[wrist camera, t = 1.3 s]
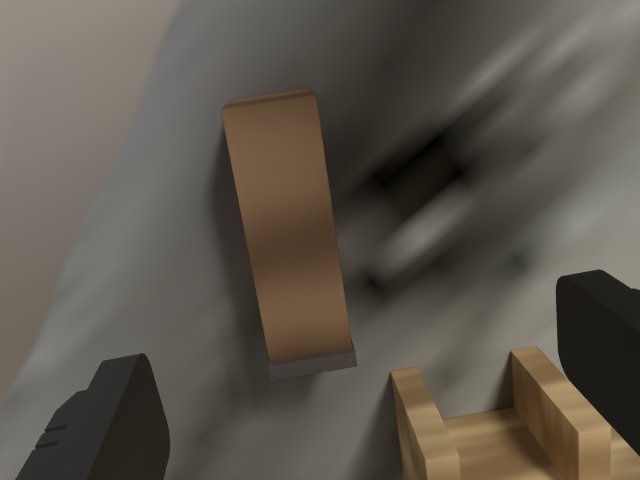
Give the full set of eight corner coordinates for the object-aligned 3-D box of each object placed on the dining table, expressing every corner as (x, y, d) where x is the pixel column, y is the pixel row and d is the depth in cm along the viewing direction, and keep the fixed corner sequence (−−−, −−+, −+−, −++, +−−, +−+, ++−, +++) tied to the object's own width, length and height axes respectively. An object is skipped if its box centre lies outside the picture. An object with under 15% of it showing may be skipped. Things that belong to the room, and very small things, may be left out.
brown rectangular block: (227, 100, 29) (217, 111, 24) (309, 87, 29) (319, 95, 24) (270, 327, 33) (270, 381, 28) (342, 315, 33) (357, 366, 28)
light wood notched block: (390, 371, 35) (467, 567, 21) (726, 313, 36) (1001, 467, 22) (403, 479, 37) (479, 715, 24) (717, 423, 38) (959, 620, 25)
